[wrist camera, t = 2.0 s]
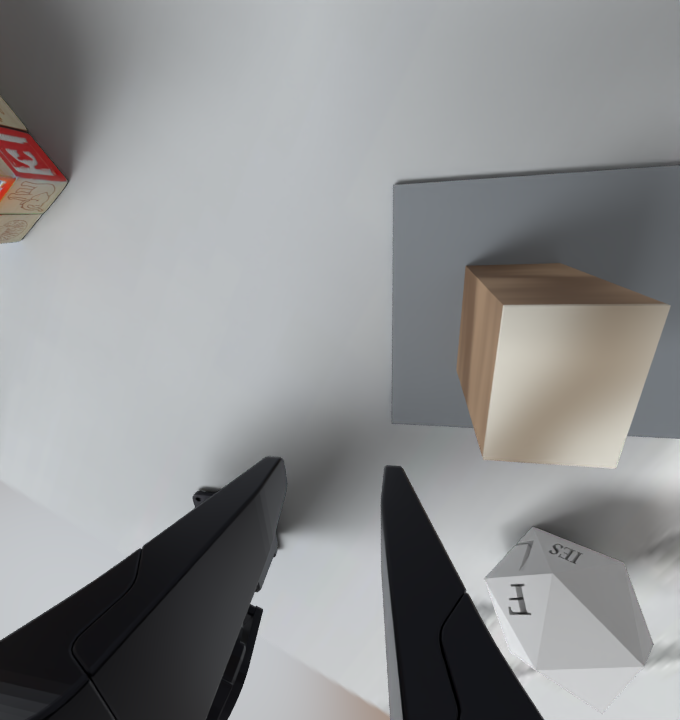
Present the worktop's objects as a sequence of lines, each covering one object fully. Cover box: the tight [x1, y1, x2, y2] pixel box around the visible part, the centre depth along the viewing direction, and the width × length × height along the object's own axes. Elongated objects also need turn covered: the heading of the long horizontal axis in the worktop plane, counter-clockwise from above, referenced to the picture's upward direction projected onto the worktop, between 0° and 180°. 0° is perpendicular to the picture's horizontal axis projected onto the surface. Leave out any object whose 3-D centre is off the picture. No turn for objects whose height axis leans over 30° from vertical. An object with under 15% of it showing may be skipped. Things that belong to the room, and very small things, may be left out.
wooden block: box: [456, 263, 671, 469], centre depth 15 cm, size 4×6×8 cm
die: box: [484, 527, 654, 714], centre depth 22 cm, size 8×9×10 cm
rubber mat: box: [392, 165, 680, 439], centre depth 19 cm, size 17×14×1 cm
